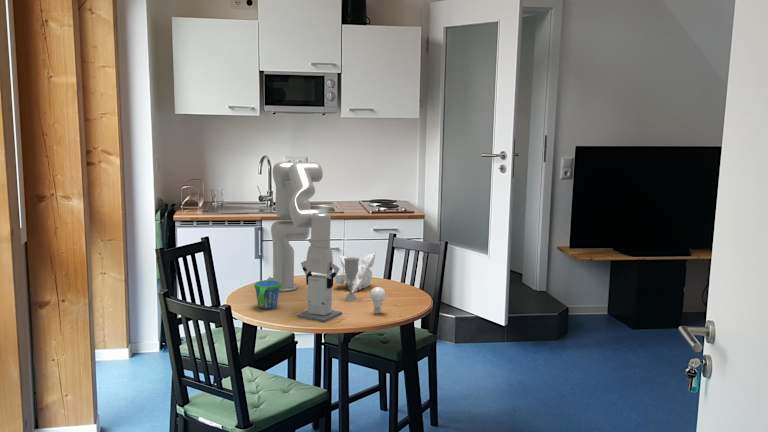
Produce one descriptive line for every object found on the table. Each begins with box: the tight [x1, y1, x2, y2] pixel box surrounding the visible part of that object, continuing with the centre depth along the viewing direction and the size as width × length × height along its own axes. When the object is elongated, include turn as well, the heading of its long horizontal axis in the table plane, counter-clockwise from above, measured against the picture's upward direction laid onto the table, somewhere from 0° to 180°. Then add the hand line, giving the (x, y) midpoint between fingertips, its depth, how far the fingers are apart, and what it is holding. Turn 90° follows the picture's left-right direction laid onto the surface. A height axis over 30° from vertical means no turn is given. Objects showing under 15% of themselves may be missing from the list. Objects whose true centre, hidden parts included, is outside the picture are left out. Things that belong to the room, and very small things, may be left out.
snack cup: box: [253, 279, 281, 310], centre depth 274 cm, size 16×10×10 cm
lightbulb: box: [369, 286, 387, 315], centre depth 268 cm, size 6×6×11 cm
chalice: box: [344, 256, 360, 302], centre depth 288 cm, size 7×7×18 cm
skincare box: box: [306, 274, 333, 315], centre depth 263 cm, size 8×6×15 cm
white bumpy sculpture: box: [334, 252, 377, 294], centre depth 310 cm, size 19×20×20 cm
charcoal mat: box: [296, 309, 343, 323], centre depth 264 cm, size 13×13×1 cm
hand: (319, 285), depth 263 cm, fingers open, 9 cm apart
